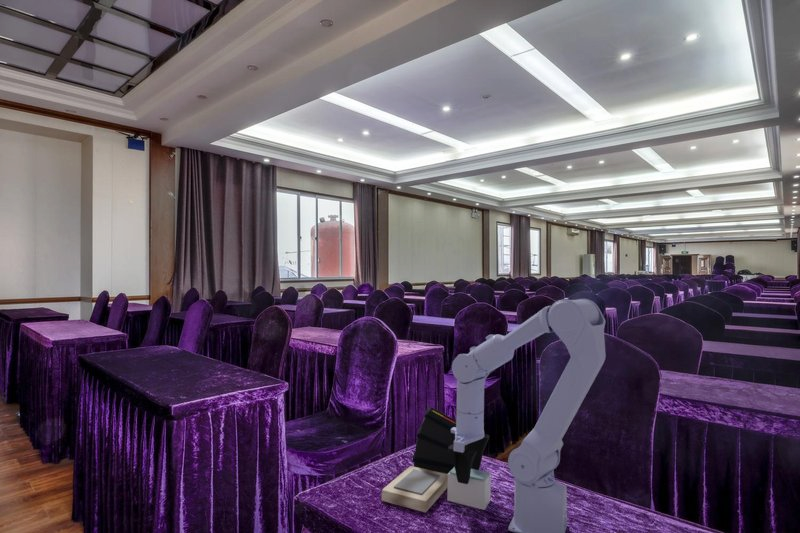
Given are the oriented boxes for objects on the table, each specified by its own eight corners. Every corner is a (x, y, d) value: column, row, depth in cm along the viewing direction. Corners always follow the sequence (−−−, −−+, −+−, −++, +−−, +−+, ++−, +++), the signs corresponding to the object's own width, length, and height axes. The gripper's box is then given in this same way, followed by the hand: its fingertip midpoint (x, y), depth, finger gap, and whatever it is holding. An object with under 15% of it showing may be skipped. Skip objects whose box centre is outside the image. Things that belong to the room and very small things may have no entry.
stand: (450, 484, 101) (450, 473, 101) (425, 512, 89) (425, 499, 89) (410, 475, 106) (410, 464, 106) (381, 500, 93) (381, 488, 93)
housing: (490, 501, 94) (490, 472, 95) (484, 510, 90) (484, 480, 91) (454, 492, 98) (454, 464, 98) (447, 501, 94) (447, 472, 94)
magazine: (401, 458, 111) (428, 405, 111) (449, 485, 110) (476, 431, 110) (400, 464, 108) (427, 409, 107) (449, 492, 106) (477, 436, 106)
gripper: (463, 399, 103) (461, 459, 103) (439, 416, 90) (438, 484, 90) (493, 404, 100) (492, 466, 100) (473, 422, 87) (472, 493, 87)
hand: (468, 475), depth 94 cm, fingers open, 7 cm apart
